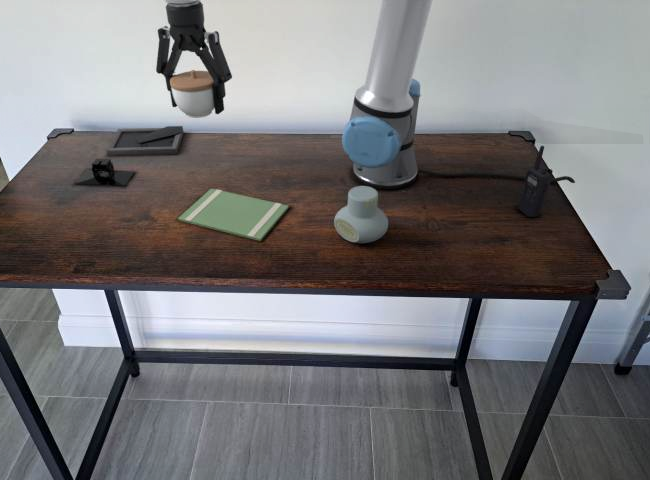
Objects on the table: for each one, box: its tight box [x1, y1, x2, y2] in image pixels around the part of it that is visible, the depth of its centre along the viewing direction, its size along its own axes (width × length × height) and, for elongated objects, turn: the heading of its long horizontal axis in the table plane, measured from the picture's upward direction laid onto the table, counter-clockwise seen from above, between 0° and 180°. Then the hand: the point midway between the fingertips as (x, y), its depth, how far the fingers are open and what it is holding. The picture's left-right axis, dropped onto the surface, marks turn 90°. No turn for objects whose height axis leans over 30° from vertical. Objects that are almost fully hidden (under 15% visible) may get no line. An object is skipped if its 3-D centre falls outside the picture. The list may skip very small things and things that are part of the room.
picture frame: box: [106, 125, 184, 157], centre depth 150 cm, size 13×2×18 cm
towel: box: [177, 188, 290, 242], centre depth 122 cm, size 20×14×1 cm
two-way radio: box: [517, 145, 554, 218], centre depth 116 cm, size 6×4×15 cm
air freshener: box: [333, 185, 389, 244], centre depth 112 cm, size 11×8×10 cm
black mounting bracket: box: [75, 158, 135, 188], centre depth 135 cm, size 12×7×5 cm, turn 83°
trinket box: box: [170, 69, 215, 119], centre depth 125 cm, size 11×11×9 cm
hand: (198, 108), depth 127 cm, fingers closed on trinket box, 11 cm apart
